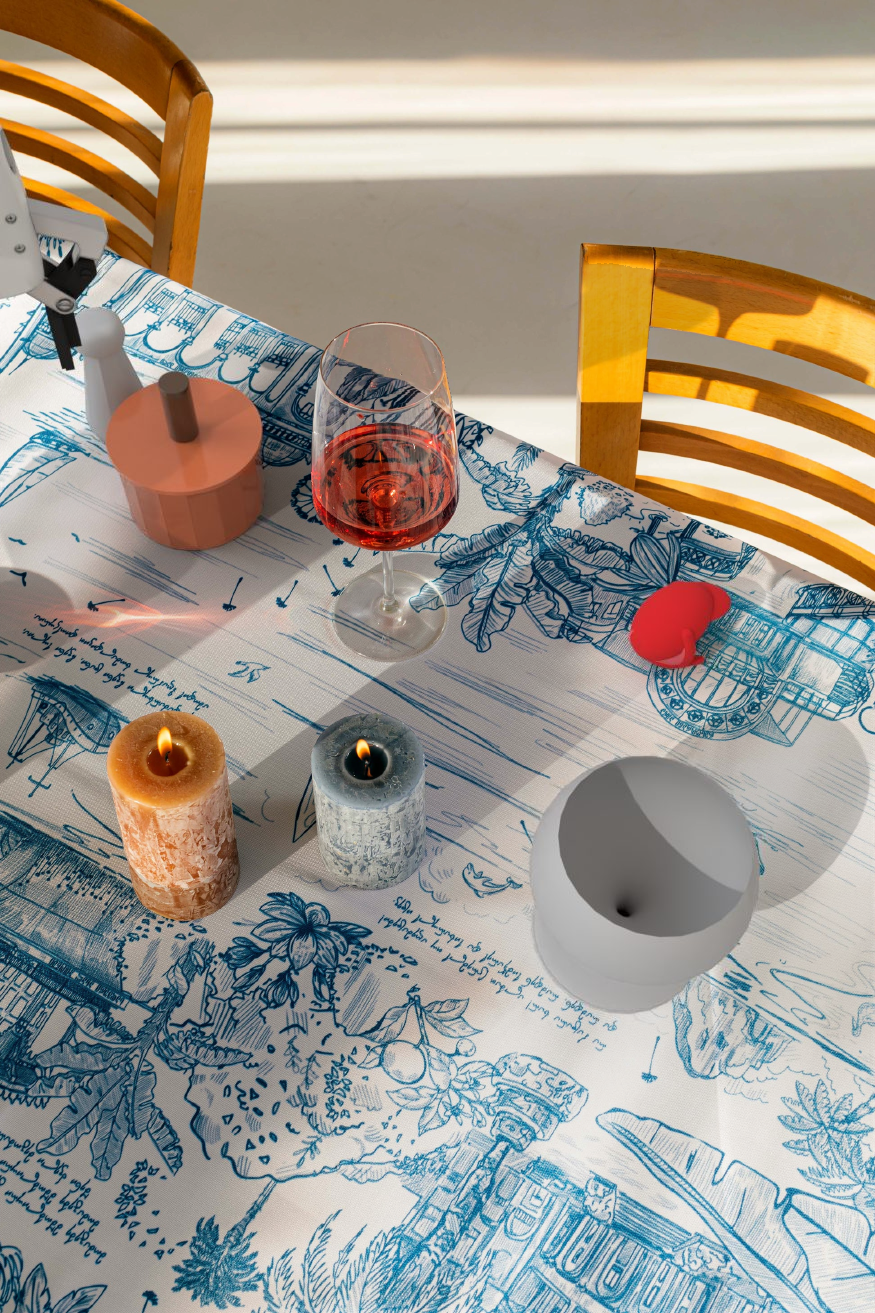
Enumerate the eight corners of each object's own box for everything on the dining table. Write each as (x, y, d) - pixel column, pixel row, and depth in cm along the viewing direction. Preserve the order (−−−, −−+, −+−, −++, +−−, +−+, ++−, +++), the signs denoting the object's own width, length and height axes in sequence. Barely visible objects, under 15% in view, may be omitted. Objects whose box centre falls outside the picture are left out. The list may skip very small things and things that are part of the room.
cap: (662, 696, 93) (677, 655, 88) (609, 645, 95) (621, 602, 90) (733, 643, 96) (751, 600, 91) (679, 595, 98) (695, 550, 93)
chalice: (751, 906, 84) (814, 816, 71) (655, 1075, 78) (706, 1009, 65) (580, 802, 88) (611, 699, 75) (475, 955, 81) (490, 870, 69)
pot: (117, 545, 99) (98, 486, 93) (143, 443, 105) (127, 381, 99) (254, 554, 99) (245, 496, 93) (272, 451, 105) (264, 389, 99)
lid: (93, 495, 93) (74, 437, 88) (124, 381, 100) (108, 320, 94) (252, 505, 93) (242, 448, 88) (272, 390, 100) (265, 330, 94)
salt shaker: (136, 399, 108) (107, 284, 97) (171, 436, 106) (145, 323, 95) (80, 429, 106) (43, 315, 95) (114, 467, 104) (80, 355, 93)
